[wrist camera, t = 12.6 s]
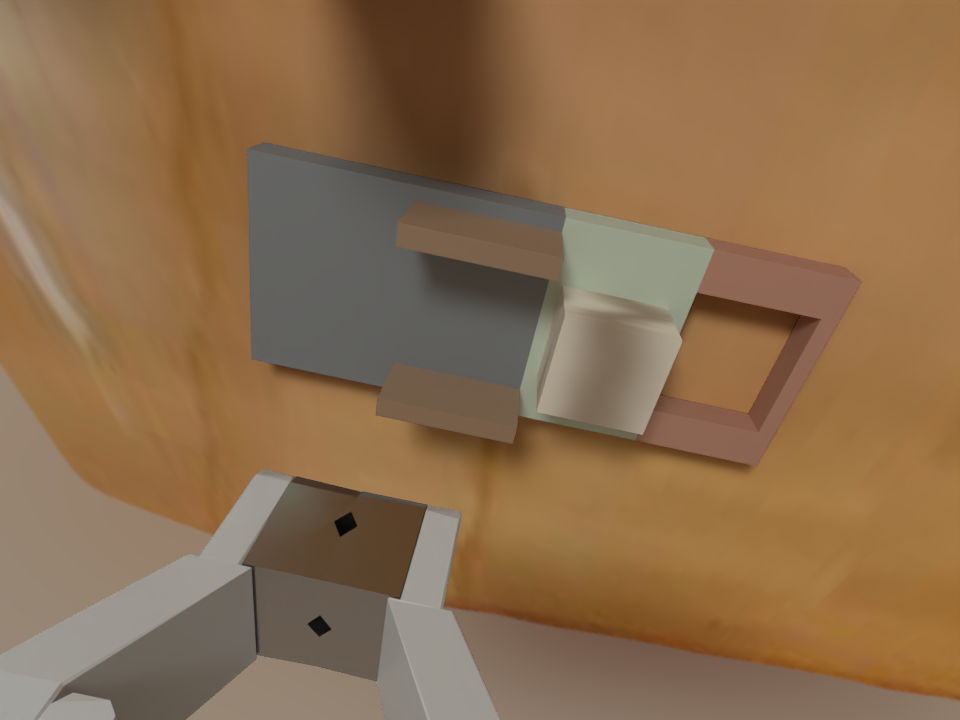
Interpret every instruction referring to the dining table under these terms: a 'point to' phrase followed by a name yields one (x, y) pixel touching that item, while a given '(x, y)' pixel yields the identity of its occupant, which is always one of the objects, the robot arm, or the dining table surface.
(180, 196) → the dining table surface
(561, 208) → the board
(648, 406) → the birch block
